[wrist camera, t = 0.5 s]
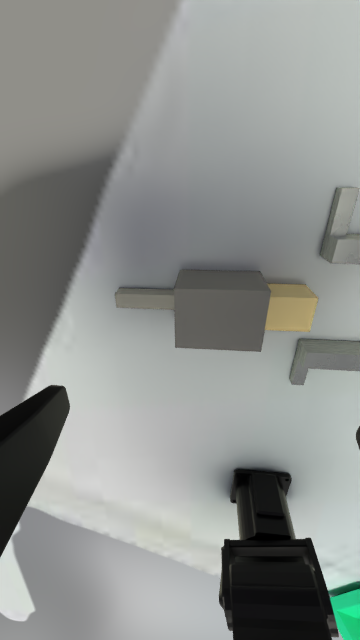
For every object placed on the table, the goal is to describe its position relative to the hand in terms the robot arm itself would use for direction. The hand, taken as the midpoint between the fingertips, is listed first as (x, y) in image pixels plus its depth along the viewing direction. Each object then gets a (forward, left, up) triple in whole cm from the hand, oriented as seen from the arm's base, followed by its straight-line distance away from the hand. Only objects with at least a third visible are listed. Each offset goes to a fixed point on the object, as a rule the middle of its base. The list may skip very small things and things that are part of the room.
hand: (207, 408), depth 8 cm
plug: (-2, -1, -14) cm, 14 cm away
